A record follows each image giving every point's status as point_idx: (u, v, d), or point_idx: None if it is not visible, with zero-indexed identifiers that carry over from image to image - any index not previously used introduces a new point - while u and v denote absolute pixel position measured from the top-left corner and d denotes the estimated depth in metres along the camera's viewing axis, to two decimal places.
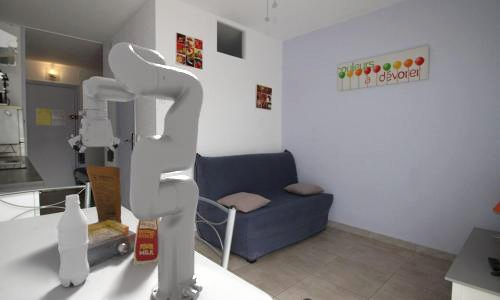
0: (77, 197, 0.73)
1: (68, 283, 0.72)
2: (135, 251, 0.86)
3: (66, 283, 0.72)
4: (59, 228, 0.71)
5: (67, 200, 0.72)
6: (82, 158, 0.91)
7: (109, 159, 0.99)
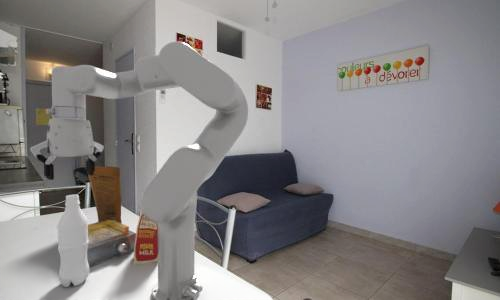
0: (77, 197, 0.73)
1: (68, 283, 0.72)
2: (135, 251, 0.86)
3: (66, 283, 0.72)
4: (59, 228, 0.71)
5: (67, 200, 0.72)
6: (50, 172, 0.68)
7: (88, 172, 0.76)
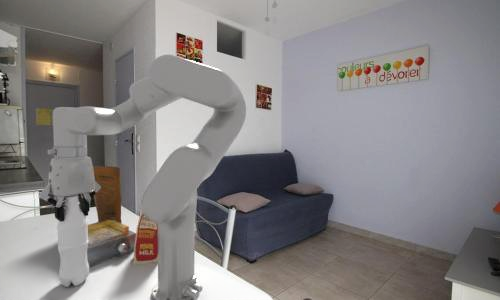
0: (77, 197, 0.73)
1: (68, 283, 0.72)
2: (135, 251, 0.86)
3: (66, 283, 0.72)
4: (59, 228, 0.71)
5: (67, 200, 0.72)
6: (60, 214, 0.70)
7: (83, 212, 0.76)
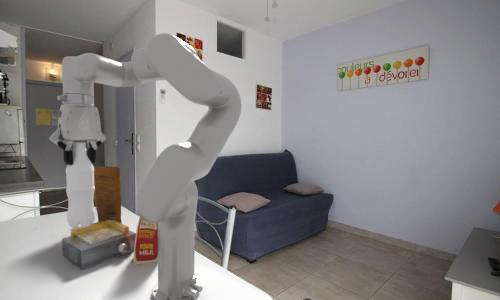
0: (84, 144, 0.77)
1: (76, 224, 0.76)
2: (135, 251, 0.86)
3: (74, 224, 0.76)
4: (68, 171, 0.75)
5: (75, 145, 0.76)
6: (69, 157, 0.74)
7: (90, 160, 0.80)
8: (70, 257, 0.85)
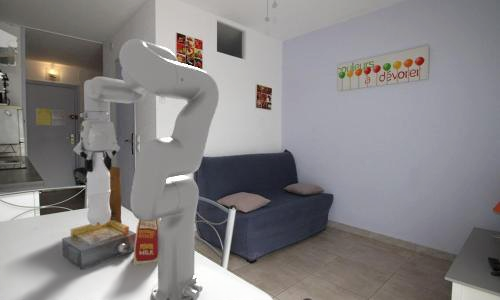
0: (102, 153, 0.91)
1: (95, 222, 0.89)
2: (135, 251, 0.86)
3: (93, 222, 0.89)
4: (88, 177, 0.88)
5: (94, 155, 0.89)
6: (89, 165, 0.88)
7: None
8: (70, 257, 0.85)
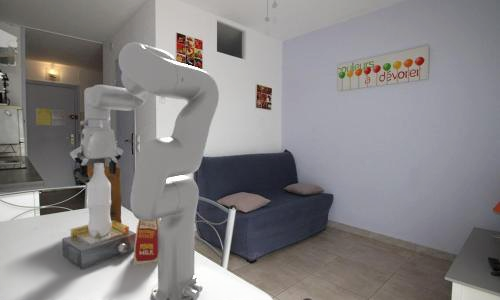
0: (103, 164, 0.91)
1: (96, 233, 0.89)
2: (135, 251, 0.86)
3: (94, 233, 0.89)
4: (89, 188, 0.88)
5: (95, 166, 0.90)
6: (84, 171, 0.86)
7: (111, 171, 0.94)
8: (70, 257, 0.85)
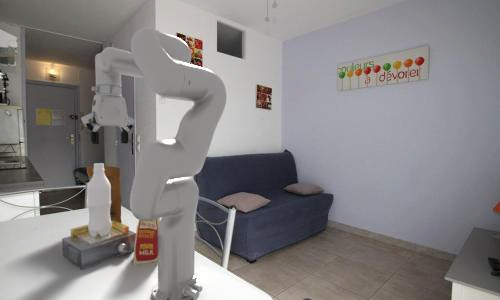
0: (102, 165, 0.91)
1: (96, 233, 0.89)
2: (135, 251, 0.86)
3: (94, 233, 0.89)
4: (89, 189, 0.88)
5: (95, 166, 0.89)
6: (96, 138, 0.84)
7: (123, 141, 0.92)
8: (70, 257, 0.85)
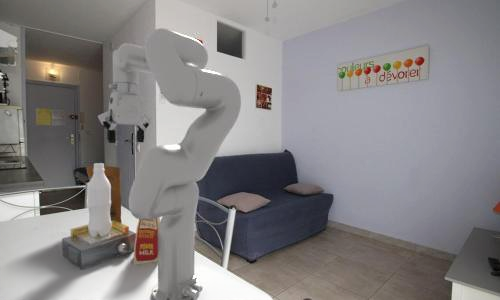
0: (102, 165, 0.91)
1: (96, 233, 0.89)
2: (135, 251, 0.86)
3: (94, 233, 0.89)
4: (89, 189, 0.88)
5: (95, 166, 0.89)
6: (112, 136, 0.82)
7: (139, 139, 0.90)
8: (70, 257, 0.85)
